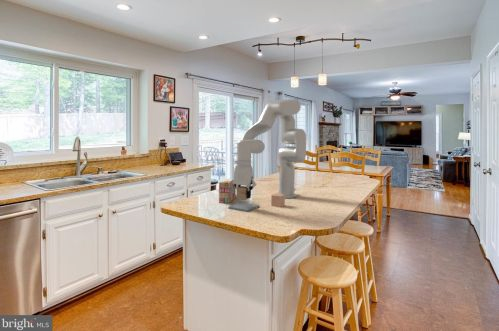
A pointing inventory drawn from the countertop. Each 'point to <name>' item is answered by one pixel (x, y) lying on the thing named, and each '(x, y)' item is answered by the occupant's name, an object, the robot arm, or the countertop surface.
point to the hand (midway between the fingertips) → (243, 196)
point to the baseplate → (243, 206)
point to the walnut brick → (242, 192)
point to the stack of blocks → (226, 191)
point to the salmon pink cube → (278, 200)
